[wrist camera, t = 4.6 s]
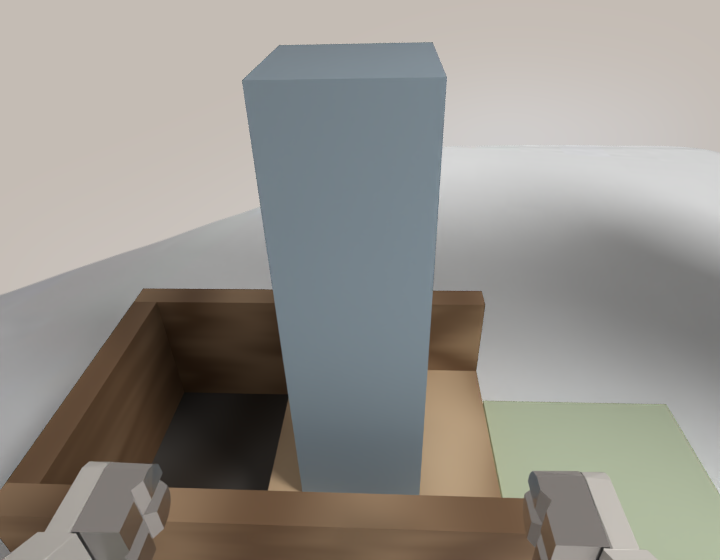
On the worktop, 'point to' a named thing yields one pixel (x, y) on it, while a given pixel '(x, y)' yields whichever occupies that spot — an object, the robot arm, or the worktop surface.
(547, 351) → the worktop surface
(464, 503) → the brown wooden open box
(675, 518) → the mat
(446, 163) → the worktop surface
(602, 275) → the worktop surface
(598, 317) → the worktop surface
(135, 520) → the robot arm
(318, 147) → the block
